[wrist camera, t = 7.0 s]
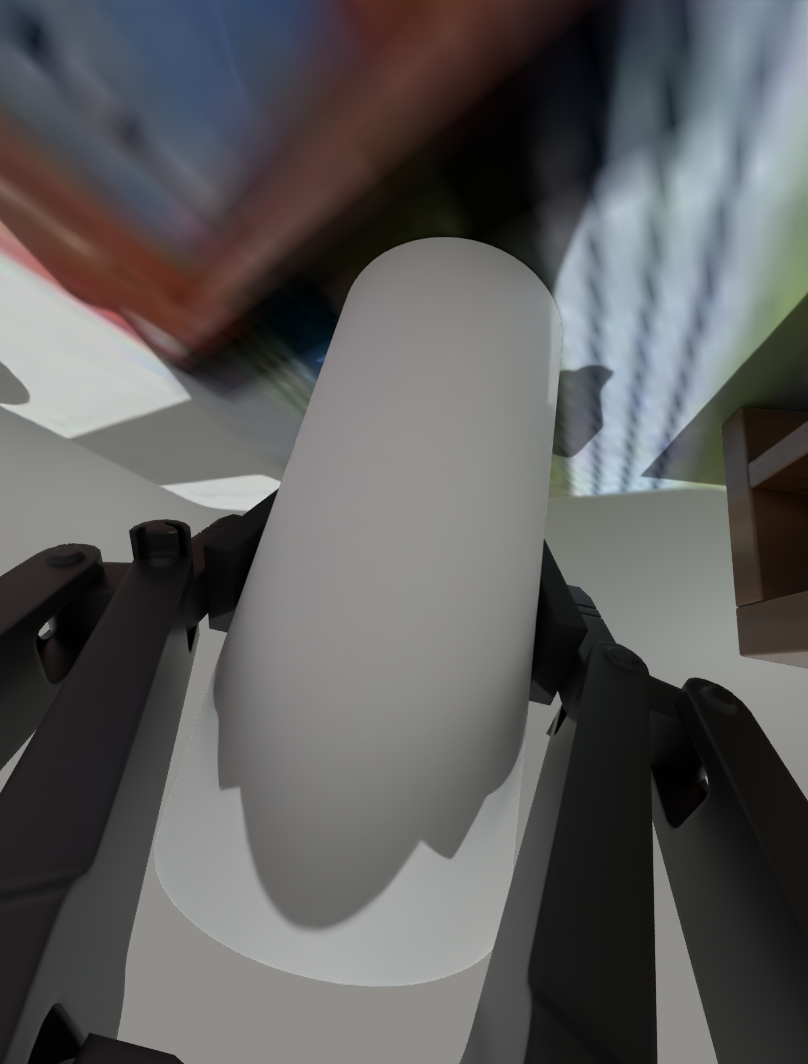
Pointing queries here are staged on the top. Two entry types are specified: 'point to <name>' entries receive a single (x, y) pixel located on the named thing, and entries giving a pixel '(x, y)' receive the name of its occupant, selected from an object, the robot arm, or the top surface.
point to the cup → (383, 641)
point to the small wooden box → (769, 531)
